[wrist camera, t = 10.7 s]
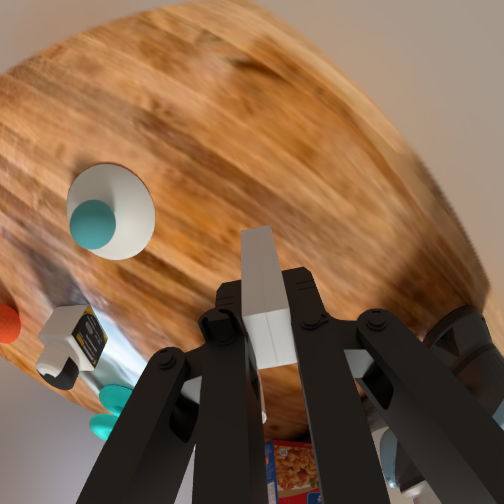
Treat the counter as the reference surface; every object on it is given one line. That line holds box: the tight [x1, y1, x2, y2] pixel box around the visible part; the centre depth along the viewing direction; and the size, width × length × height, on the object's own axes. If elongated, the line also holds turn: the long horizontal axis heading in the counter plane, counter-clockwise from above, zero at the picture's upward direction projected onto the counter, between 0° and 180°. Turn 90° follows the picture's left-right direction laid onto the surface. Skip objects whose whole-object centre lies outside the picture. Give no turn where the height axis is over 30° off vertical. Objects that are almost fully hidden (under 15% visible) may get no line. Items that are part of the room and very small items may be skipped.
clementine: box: [0, 305, 21, 343], centre depth 35 cm, size 8×7×7 cm
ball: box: [70, 200, 116, 250], centre depth 28 cm, size 6×6×6 cm
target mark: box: [67, 164, 155, 260], centre depth 31 cm, size 12×12×1 cm
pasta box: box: [264, 439, 322, 504], centre depth 50 cm, size 28×8×28 cm, turn 63°
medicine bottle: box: [36, 304, 108, 390], centre depth 33 cm, size 7×7×12 cm
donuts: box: [90, 385, 132, 441], centre depth 44 cm, size 10×10×10 cm
